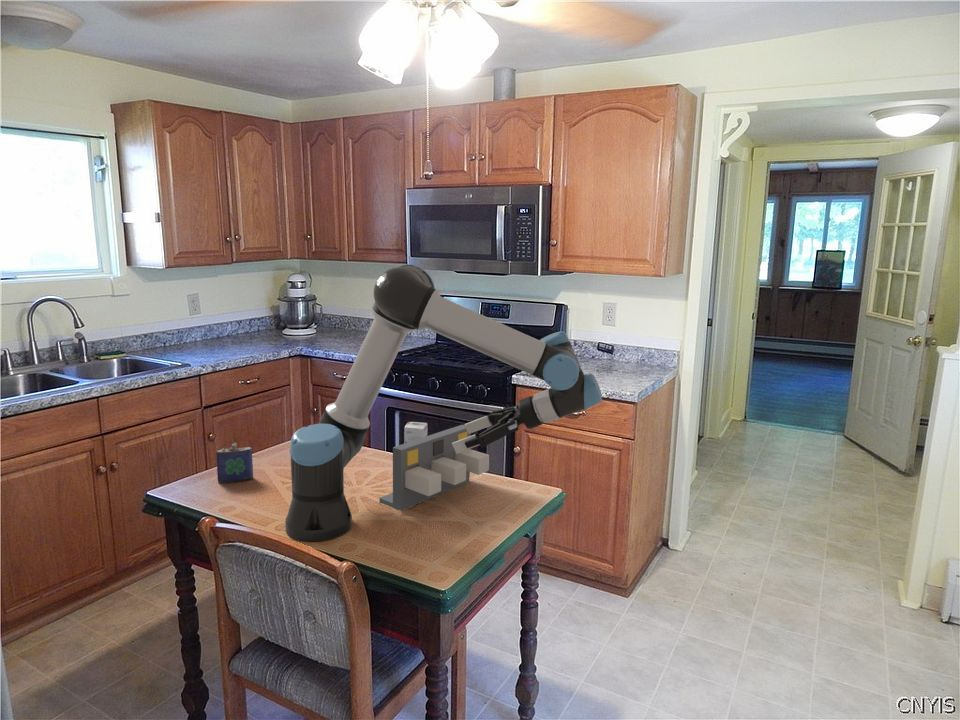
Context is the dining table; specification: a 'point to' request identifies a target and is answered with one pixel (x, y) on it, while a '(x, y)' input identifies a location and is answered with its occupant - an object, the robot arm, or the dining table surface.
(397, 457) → the light board
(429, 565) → the dining table surface
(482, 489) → the dining table surface
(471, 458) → the button right
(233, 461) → the flask
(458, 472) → the button mid
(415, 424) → the syrup box
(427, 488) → the button left
